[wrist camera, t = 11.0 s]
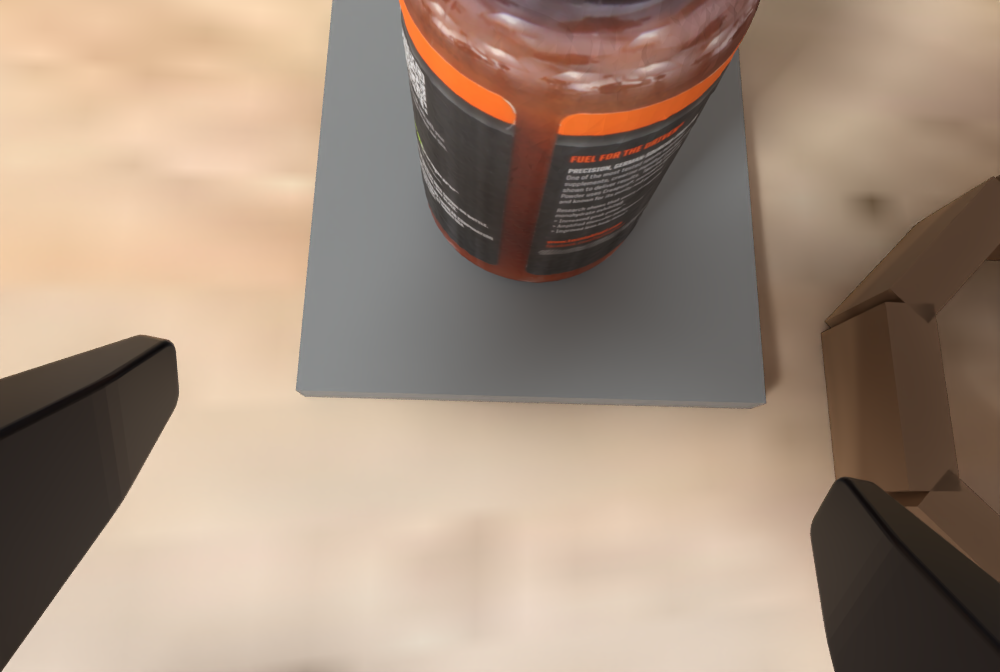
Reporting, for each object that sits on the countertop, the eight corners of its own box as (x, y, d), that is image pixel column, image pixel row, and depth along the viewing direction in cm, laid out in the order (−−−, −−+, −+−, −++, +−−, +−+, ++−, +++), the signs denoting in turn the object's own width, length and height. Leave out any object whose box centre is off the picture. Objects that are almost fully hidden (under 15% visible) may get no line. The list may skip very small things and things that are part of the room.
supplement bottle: (680, 176, 19) (981, -278, 8) (550, 334, 18) (697, 51, 7) (514, 54, 20) (579, -521, 9) (377, 198, 18) (250, -264, 7)
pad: (750, 408, 18) (766, 403, 17) (304, 396, 18) (295, 390, 17) (722, 30, 21) (735, 8, 20) (340, 10, 21) (333, -15, 20)
